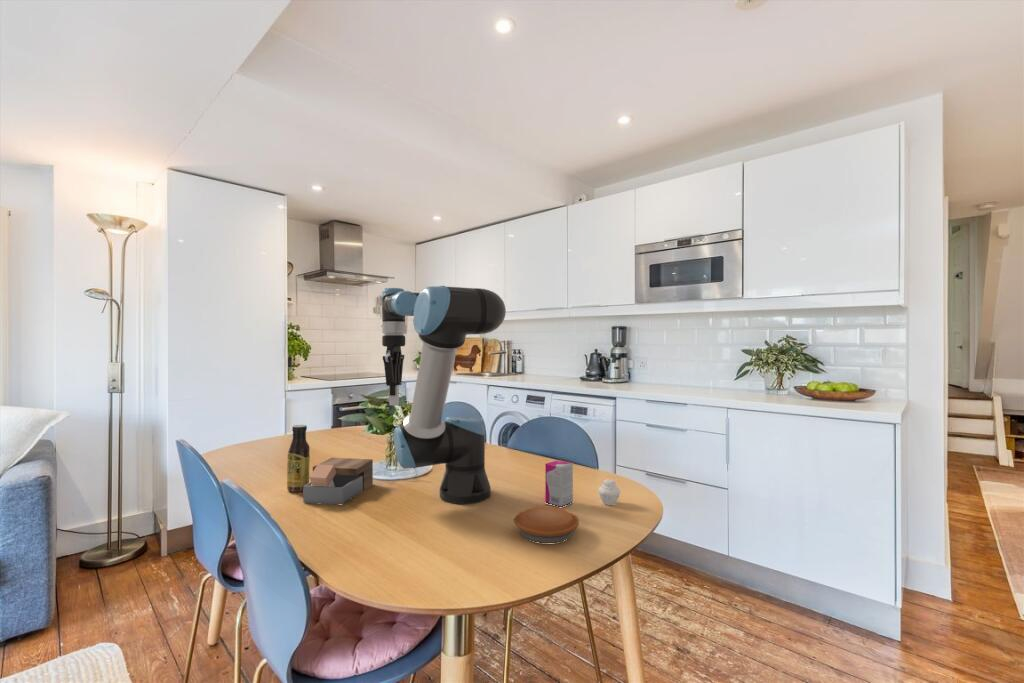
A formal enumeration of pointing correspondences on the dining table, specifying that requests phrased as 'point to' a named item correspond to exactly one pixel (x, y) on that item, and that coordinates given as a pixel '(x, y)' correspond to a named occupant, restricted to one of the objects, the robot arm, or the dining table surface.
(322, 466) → the salmon pink square block
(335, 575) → the dining table surface
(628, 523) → the dining table surface
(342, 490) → the bin
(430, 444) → the robot arm
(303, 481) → the sauce bottle
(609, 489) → the small white jar
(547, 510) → the pie
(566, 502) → the supplement box
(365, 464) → the plate
